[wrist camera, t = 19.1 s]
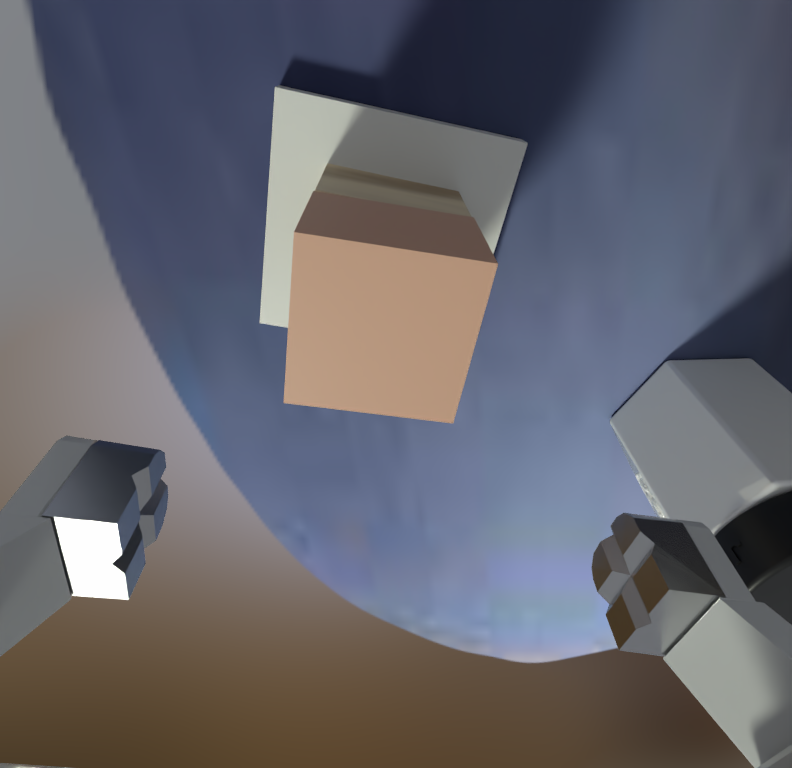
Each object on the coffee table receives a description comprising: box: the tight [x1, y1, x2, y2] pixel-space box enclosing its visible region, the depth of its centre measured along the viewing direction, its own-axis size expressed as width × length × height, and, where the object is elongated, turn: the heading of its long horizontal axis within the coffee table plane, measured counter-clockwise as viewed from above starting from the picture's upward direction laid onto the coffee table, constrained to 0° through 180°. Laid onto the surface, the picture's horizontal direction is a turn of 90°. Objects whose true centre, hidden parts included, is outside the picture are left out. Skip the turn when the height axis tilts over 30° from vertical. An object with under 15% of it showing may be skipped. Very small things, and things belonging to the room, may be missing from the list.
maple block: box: [315, 163, 471, 217], centre depth 21 cm, size 6×6×4 cm
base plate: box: [260, 85, 528, 328], centre depth 23 cm, size 10×10×1 cm
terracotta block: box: [284, 191, 498, 423], centre depth 17 cm, size 6×6×4 cm
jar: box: [610, 358, 792, 625], centre depth 25 cm, size 9×8×12 cm
